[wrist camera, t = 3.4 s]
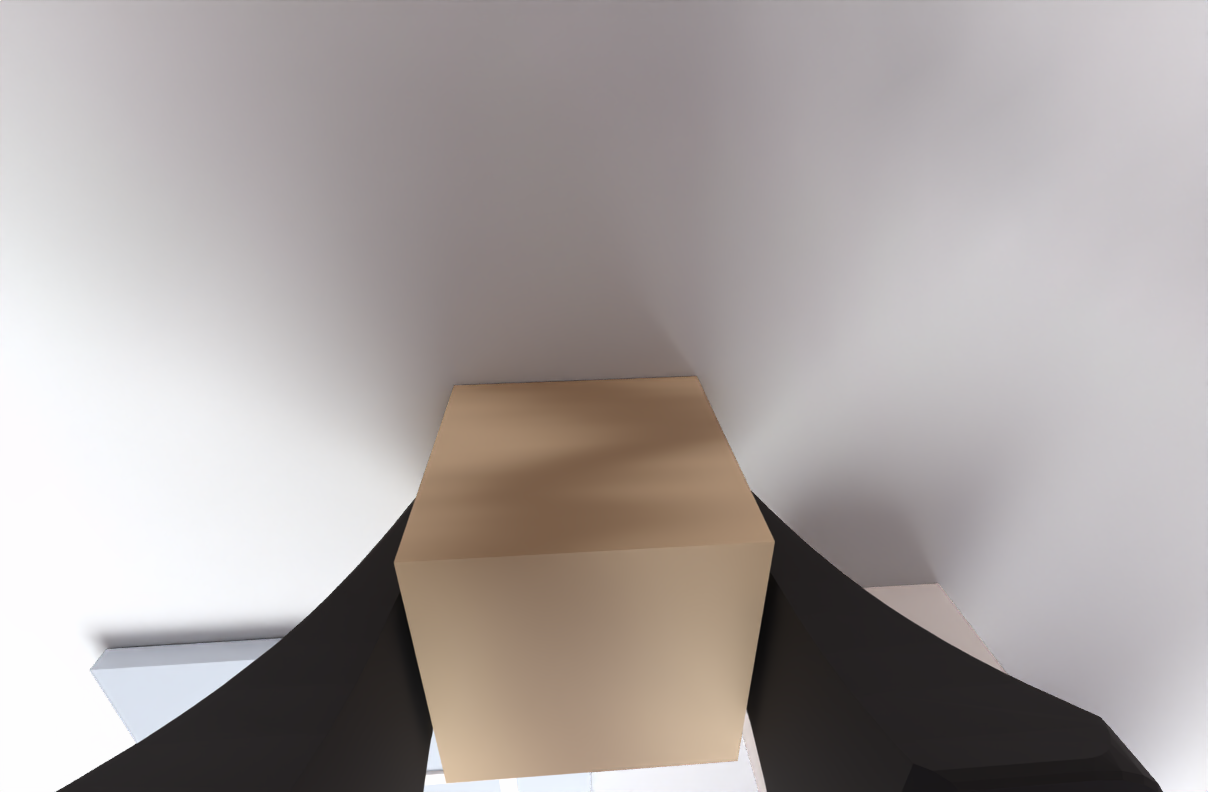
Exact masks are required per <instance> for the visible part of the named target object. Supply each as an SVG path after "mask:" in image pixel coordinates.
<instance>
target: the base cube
mask: <svg viewBox="0 0 1208 792" xmlns="http://www.w3.org/2000/svg"><path fill="white" fill-rule="evenodd" d="M774 544H775V541H774V539H773V537H772V534H771V532H770V530H769V528H768V526H767V524H766V522H765V520H764V518H763V515H762V513H761V511H760V509H759V507H758V505H757V503H756V501H755V498H754V496H753V494H752V492H751V490H750V488H749V486H748V484H747V482H746V479H745V477H744V475H743V473H742V471H741V469H740V467H739V465H738V462H737V460H736V458H735V456H734V454H733V452H732V450H731V448H730V445H729V443H728V441H727V439H726V437H725V435H724V433H723V431H722V429H721V426H720V424H719V422H718V420H717V418H716V416H715V414H714V412H713V409H712V407H711V405H710V403H709V401H708V399H707V397H706V395H705V393H704V390H703V388H702V386H701V384H700V382H699V380H698V378H697V376H688V377H661V378H635V379H609V380H583V381H556V382H530V383H504V384H478V385H454V387H453V390H452V393H451V396H450V399H449V402H448V405H447V408H446V410H445V413H444V416H443V419H442V422H441V425H440V428H439V431H438V434H437V437H436V440H435V443H434V446H433V449H432V452H431V455H430V458H429V460H428V463H427V466H426V469H425V472H424V475H423V478H422V481H421V484H420V487H419V490H418V493H417V496H416V499H415V502H414V505H413V508H412V510H411V513H410V516H409V519H408V522H407V525H406V528H405V531H404V534H403V537H402V540H401V543H400V546H399V549H398V552H397V555H396V558H395V560H394V566H395V570H396V574H397V578H398V582H399V587H400V591H401V595H402V599H403V603H404V608H405V612H406V616H407V620H408V625H409V629H410V633H411V637H412V641H413V646H414V650H415V654H416V658H417V662H418V667H419V671H420V675H421V679H422V683H423V688H424V692H425V696H426V700H427V705H428V709H429V713H430V717H431V721H432V726H433V730H434V734H435V738H436V742H437V747H438V751H439V755H440V759H441V764H442V768H443V772H444V776H445V780H446V783H457V782H470V781H483V780H496V779H509V778H522V777H535V776H548V775H561V774H574V773H588V772H601V771H614V770H627V769H640V768H653V767H666V766H679V765H692V764H705V763H718V762H731V761H737V760H738V755H739V749H740V743H741V737H742V731H743V725H744V719H745V714H746V708H747V702H748V696H749V690H750V684H751V678H752V673H753V667H754V661H755V655H756V649H757V643H758V637H759V632H760V626H761V620H762V614H763V608H764V602H765V596H766V591H767V585H768V579H769V573H770V567H771V561H772V555H773V550H774Z"/></svg>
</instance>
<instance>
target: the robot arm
mask: <svg viewBox="0 0 1208 792" xmlns="http://www.w3.org/2000/svg"><path fill="white" fill-rule="evenodd" d="M751 492H752V491H751ZM752 494H753V496H754V498H755V501H756V503H757V505H758V507H759V509H760V511H761V513H762V515H763V518H764V520H765V522H766V524H767V526H768V528H769V530H770V532H771V534H772V537H773V539H774V541H775V544H774V550H773V555H772V561H771V567H770V573H769V579H768V585H767V591H766V596H765V602H764V608H763V614H762V620H761V626H760V632H759V637H758V643H757V649H756V655H755V661H754V667H753V673H752V678H751V684H750V690H749V696H748V702H747V708H746V710H747V714H748V717H749V720H750V724H751V728H752V732H753V736H754V740H755V744H756V748H757V753H758V757H759V761H760V765H761V769H762V773H763V777H764V782H765V786H766V790H767V792H1163V791H1162V789H1161V788H1160V786H1159V784H1158V783H1157V782H1156V781H1155V779H1154V778H1153V777H1152V776H1151V775H1150V774H1149V772H1148V771H1147V770H1146V769H1145V768H1144V767H1143V765H1142V764H1141V763H1140V762H1139V761H1138V760H1137V758H1136V757H1135V756H1134V755H1133V754H1132V753H1131V751H1130V750H1129V749H1128V748H1127V747H1126V746H1125V744H1124V743H1123V742H1122V741H1121V740H1120V739H1119V737H1118V736H1117V735H1116V734H1115V733H1114V732H1113V730H1112V729H1111V728H1110V727H1109V726H1108V725H1107V724H1106V723H1105V722H1104V721H1103V720H1102V718H1101V717H1099V716H1097V715H1095V714H1092V713H1090V712H1088V711H1086V710H1083V709H1081V708H1079V707H1077V706H1075V705H1072V704H1070V703H1068V702H1066V701H1064V700H1061V699H1059V698H1057V697H1055V696H1052V695H1050V694H1048V693H1046V692H1044V691H1041V690H1039V689H1037V688H1035V687H1033V686H1030V685H1028V684H1026V683H1024V682H1022V681H1020V680H1018V679H1016V678H1013V677H1012V676H1010V675H1008V674H1006V673H1004V672H1002V671H1000V670H998V669H996V668H994V667H992V666H990V665H988V664H986V663H984V662H982V661H981V660H979V659H977V658H975V657H973V656H971V655H969V654H967V653H966V652H964V651H962V650H960V649H958V648H957V647H955V646H953V645H951V644H949V643H948V642H946V641H944V640H942V639H941V638H939V637H937V636H936V635H934V634H932V633H931V632H929V631H927V630H926V629H924V628H922V627H921V626H919V625H917V624H916V623H914V622H913V621H911V620H909V619H908V618H906V617H905V616H903V615H901V614H900V613H898V612H897V611H895V610H894V609H892V608H891V607H889V606H888V605H886V604H885V603H883V602H882V601H881V600H879V599H878V598H876V597H875V596H873V595H872V594H871V593H869V592H868V591H866V590H865V589H863V588H862V587H861V586H859V585H858V584H856V583H855V582H854V581H852V580H851V579H850V578H848V577H847V576H846V575H844V574H843V573H842V572H841V571H839V570H838V569H837V568H836V567H834V566H833V565H832V564H831V563H830V562H828V561H827V560H826V559H825V558H823V557H822V556H821V555H820V554H818V553H817V552H816V551H815V550H814V549H813V548H811V547H810V546H809V545H808V544H807V543H806V542H805V541H803V540H802V539H801V538H800V537H799V536H798V535H797V534H796V533H795V532H794V531H792V530H791V529H790V528H789V527H788V526H787V525H786V524H785V523H784V522H783V521H782V520H781V519H780V518H779V517H777V516H776V515H775V514H774V513H773V512H772V511H771V510H770V509H769V508H768V507H767V506H766V505H765V504H764V503H763V502H762V501H761V500H760V499H759V498H758V497H757V496H756V495H755V494H754V493H753V492H752ZM415 499H416V498H415ZM415 499H414V500H413V501H412V503H411V504H410V505H409V506H408V508H407V509H406V510H405V511H404V513H403V514H402V515H401V516H400V517H399V519H398V520H397V521H396V522H395V524H394V525H393V526H392V527H391V528H390V529H389V531H388V532H387V533H386V534H385V535H384V537H383V538H382V539H381V540H380V541H379V542H378V543H377V545H376V546H375V547H374V548H373V549H372V550H371V551H370V553H369V554H368V555H367V556H366V557H365V558H364V559H363V560H362V562H361V563H360V564H359V565H358V566H357V567H356V568H355V569H354V570H353V571H352V572H351V573H350V574H349V575H348V576H347V578H346V579H345V580H344V581H343V582H342V583H341V584H340V585H339V586H338V587H337V588H336V589H335V590H334V591H333V592H332V593H331V594H330V595H329V596H328V597H327V598H326V599H325V600H324V601H323V602H322V603H321V604H320V605H319V606H318V607H317V608H316V609H315V610H314V611H313V612H311V613H310V614H309V615H308V616H307V617H306V618H305V619H304V620H303V621H302V622H301V623H300V624H298V625H297V626H296V627H295V628H294V629H293V630H292V631H290V632H289V633H288V634H287V635H286V636H285V637H283V638H282V639H281V640H280V641H279V642H278V643H276V644H275V645H274V646H273V647H272V648H270V649H269V650H268V651H266V652H265V653H264V654H262V655H261V656H260V657H259V658H257V659H256V660H255V661H253V662H252V663H251V664H250V665H248V666H247V667H246V668H244V669H243V670H242V671H240V672H239V673H238V674H237V675H235V676H234V677H233V678H231V679H230V680H229V681H228V682H226V683H225V684H224V685H222V686H221V687H220V688H218V689H217V690H215V691H214V692H213V693H211V694H210V695H208V696H207V697H206V698H204V699H203V700H201V701H200V702H198V703H197V704H196V705H194V706H193V707H191V708H190V709H188V710H187V711H186V712H184V713H182V714H181V715H179V716H178V717H176V718H175V719H173V720H172V721H170V722H169V723H167V724H166V725H164V726H163V727H161V728H160V729H158V730H157V731H155V732H154V733H152V734H151V735H149V736H148V737H146V738H144V739H143V740H141V741H140V742H138V743H137V744H135V745H134V746H132V747H130V748H129V749H127V750H125V751H124V752H122V753H120V754H119V755H117V756H115V757H114V758H112V759H110V760H109V761H107V762H105V763H104V764H102V765H100V766H99V767H97V768H95V769H94V770H92V771H90V772H89V773H87V774H85V775H84V776H82V777H80V778H79V779H77V780H75V781H74V782H72V783H70V784H69V785H67V786H65V787H63V788H62V789H60V790H58V791H56V792H424V785H425V777H426V770H427V763H428V756H429V749H430V744H431V739H432V734H433V726H432V721H431V717H430V713H429V709H428V705H427V700H426V696H425V692H424V688H423V683H422V679H421V675H420V671H419V667H418V662H417V658H416V654H415V650H414V646H413V641H412V637H411V633H410V629H409V625H408V620H407V616H406V612H405V608H404V603H403V599H402V595H401V591H400V587H399V582H398V578H397V574H396V570H395V566H394V560H395V558H396V555H397V552H398V549H399V546H400V543H401V540H402V537H403V534H404V531H405V528H406V525H407V522H408V519H409V516H410V513H411V510H412V508H413V505H414V502H415Z"/></svg>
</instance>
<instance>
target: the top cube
mask: <svg viewBox="0 0 1208 792" xmlns="http://www.w3.org/2000/svg"><path fill="white" fill-rule="evenodd" d="M863 589H865V590H866V591H868V592H869V593H871V594H872V595H873V596H875V597H876V598H878V599H879V600H881V601H882V602H883V603H885V604H886V605H888V606H889V607H891V608H892V609H894V610H895V611H897V612H898V613H900V614H901V615H903V616H905V617H906V618H908V619H909V620H911V621H913V622H914V623H916V624H917V625H919V626H921V627H922V628H924V629H926V630H927V631H929V632H931V633H932V634H934V635H936V636H937V637H939V638H941V639H942V640H944V641H946V642H948V643H949V644H951V645H953V646H955V647H957V648H958V649H960V650H962V651H964V652H966V653H967V654H969V655H971V656H973V657H975V658H977V659H979V660H981V661H982V662H984V663H986V664H988V665H990V666H992V667H994V668H996V669H998V670H1000V671H1002V672H1004V673H1006V672H1005V670H1004V669H1003V668H1002V667H1001V665H1000V664H999V663H998V661H997V660H996V659H995V657H994V656H993V655H992V653H991V652H990V651H989V649H988V648H987V647H986V645H985V644H984V643H983V641H982V640H981V639H980V638H979V636H978V635H977V634H976V632H975V631H974V630H973V628H972V627H971V626H970V624H969V623H968V622H967V620H966V619H965V618H964V616H963V615H962V614H961V612H960V611H959V610H958V609H957V607H956V606H955V605H954V603H953V602H952V601H951V599H950V598H949V597H948V595H947V594H946V593H945V591H944V590H943V589H942V587H941V586H940V585H939V583H933V584H916V585H900V586H883V587H866V588H863ZM1006 674H1007V673H1006ZM742 734H743V738H744V742H745V745H746V749H747V752H748V756H749V759H750V763H751V766H752V770H753V773H754V777H755V780H756V784H757V788H758V791H759V792H767V790H766V786H765V782H764V777H763V773H762V769H761V765H760V761H759V757H758V753H757V748H756V744H755V740H754V736H753V732H752V728H751V724H750V720H749V717H748V714H747V710H746V714H745V719H744V725H743V731H742Z"/></svg>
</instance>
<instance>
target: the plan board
mask: <svg viewBox="0 0 1208 792" xmlns="http://www.w3.org/2000/svg"><path fill="white" fill-rule="evenodd" d="M281 639H282V638H277V639H261V640H244V641H228V642H212V643H196V644H180V645H163V646H147V647H131V648H115V649H106V650H105V651H104V653H103V654H102V655H101V656H100V658H99V659H98V660H97V661H96V663H95V664H94V665H93V666H92V668H91V669H90V672H91V673H92V675H93V676H94V678H95V679H96V681H97V682H98V684H99V686H100V687H101V689H102V690H103V692H104V693H105V695H106V697H107V698H108V700H109V701H110V703H111V704H112V706H113V707H114V709H115V711H116V712H117V714H118V715H119V717H120V718H121V720H122V721H123V723H124V725H125V726H126V728H127V729H128V731H129V732H130V734H131V736H132V737H133V739H134V740H135V742H136V743H138V742H140V741H141V740H143V739H144V738H146V737H148V736H149V735H151V734H152V733H154V732H155V731H157V730H158V729H160V728H161V727H163V726H164V725H166V724H167V723H169V722H170V721H172V720H173V719H175V718H176V717H178V716H179V715H181V714H182V713H184V712H186V711H187V710H188V709H190V708H191V707H193V706H194V705H196V704H197V703H198V702H200V701H201V700H203V699H204V698H206V697H207V696H208V695H210V694H211V693H213V692H214V691H215V690H217V689H218V688H220V687H221V686H222V685H224V684H225V683H226V682H228V681H229V680H230V679H231V678H233V677H234V676H235V675H237V674H238V673H239V672H240V671H242V670H243V669H244V668H246V667H247V666H248V665H250V664H251V663H252V662H253V661H255V660H256V659H257V658H259V657H260V656H261V655H262V654H264V653H265V652H266V651H268V650H269V649H270V648H272V647H273V646H274V645H275V644H276V643H278V642H279V641H280V640H281ZM424 792H591V777H590V772H588V773H574V774H561V775H548V776H535V777H522V778H509V779H496V780H483V781H470V782H457V783H446V780H445V776H444V772H443V768H442V764H441V759H440V755H439V751H438V747H437V742H436V738H435V734H434V730H433V734H432V739H431V744H430V749H429V756H428V763H427V770H426V777H425V785H424Z"/></svg>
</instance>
